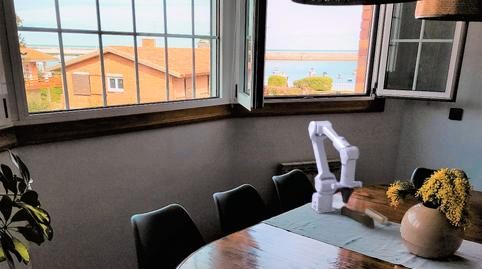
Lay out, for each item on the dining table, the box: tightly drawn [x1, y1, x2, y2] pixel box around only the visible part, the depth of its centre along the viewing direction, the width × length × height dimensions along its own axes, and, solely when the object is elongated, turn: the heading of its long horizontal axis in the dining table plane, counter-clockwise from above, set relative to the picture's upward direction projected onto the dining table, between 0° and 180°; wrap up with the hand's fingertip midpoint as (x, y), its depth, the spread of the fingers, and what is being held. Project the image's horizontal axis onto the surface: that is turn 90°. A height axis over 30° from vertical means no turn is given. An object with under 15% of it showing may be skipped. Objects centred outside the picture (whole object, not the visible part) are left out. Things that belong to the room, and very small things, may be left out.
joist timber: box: [364, 207, 388, 225], centre depth 167 cm, size 3×12×3 cm, turn 17°
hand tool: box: [339, 205, 375, 229], centre depth 164 cm, size 19×4×5 cm, turn 26°
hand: (345, 202), depth 161 cm, fingers closed
